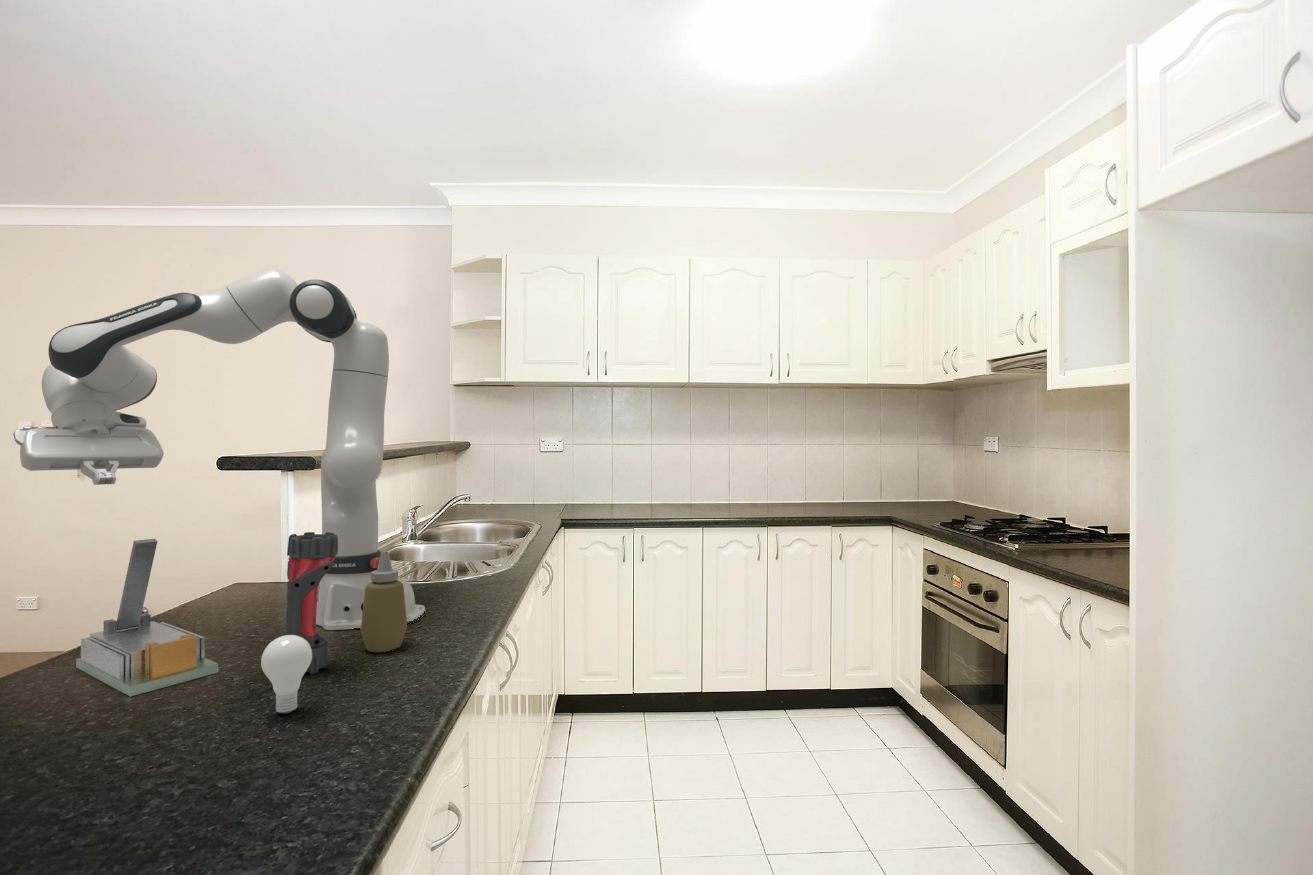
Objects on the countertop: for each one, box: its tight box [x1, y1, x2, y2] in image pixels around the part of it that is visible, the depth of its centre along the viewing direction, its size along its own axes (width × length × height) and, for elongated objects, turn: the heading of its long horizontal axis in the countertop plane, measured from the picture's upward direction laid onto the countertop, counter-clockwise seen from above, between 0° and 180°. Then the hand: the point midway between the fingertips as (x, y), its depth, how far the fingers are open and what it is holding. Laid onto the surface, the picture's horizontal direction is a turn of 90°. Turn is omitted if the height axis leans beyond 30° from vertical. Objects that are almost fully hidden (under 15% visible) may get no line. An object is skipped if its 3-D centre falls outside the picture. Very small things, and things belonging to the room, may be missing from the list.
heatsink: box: [75, 612, 219, 697], centre depth 108 cm, size 22×12×8 cm, turn 58°
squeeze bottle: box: [360, 550, 408, 653], centre depth 120 cm, size 8×8×18 cm
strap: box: [116, 538, 158, 631], centre depth 111 cm, size 18×3×1 cm
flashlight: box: [283, 531, 338, 675], centre depth 109 cm, size 8×8×23 cm
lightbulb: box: [260, 634, 312, 715], centre depth 92 cm, size 6×6×11 cm
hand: (105, 482), depth 118 cm, fingers closed
